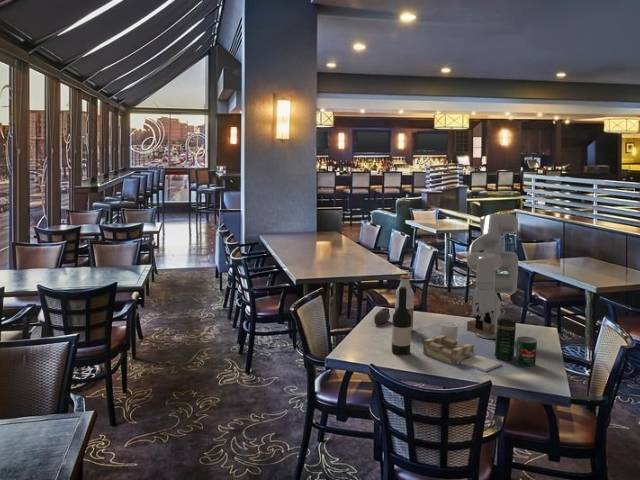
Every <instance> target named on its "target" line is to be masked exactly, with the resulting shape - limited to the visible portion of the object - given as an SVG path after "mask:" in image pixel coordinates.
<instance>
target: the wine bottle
mask: <svg viewBox="0 0 640 480" xmlns="http://www.w3.org/2000/svg"><path fill="white" fill-rule="evenodd" d="M406 295H407V289H406V287H404V286H401V287H400V288H399V306H398V308H397V310H396V311H395V310H394V313H393V314H392V325H391V326H392V332H391V352H392V353H391V354H394V355H396V356H407V355H410V354H411V342H412V341H411V339H412V334H411V333H412V331H411V316H410V314H409V312H408V310H407V308H406Z"/></svg>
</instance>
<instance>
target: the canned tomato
mask: <svg viewBox="0 0 640 480" xmlns="http://www.w3.org/2000/svg"><path fill="white" fill-rule="evenodd" d="M537 344H538V340H537V338H534V337H531V336H518V337H517V338H516V355H515V364H516V366H518V367H521V368H527V369H532V368H535V367H536V362H537V350H538V349H537Z"/></svg>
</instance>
